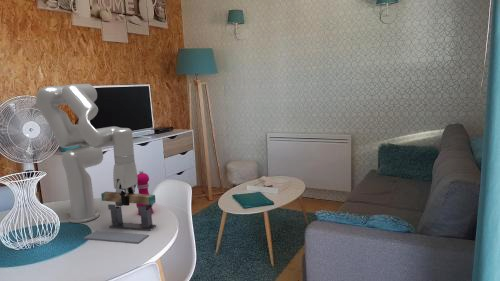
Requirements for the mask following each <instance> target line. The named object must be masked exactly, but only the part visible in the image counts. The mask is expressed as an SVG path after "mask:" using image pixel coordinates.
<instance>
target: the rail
mask: <svg viewBox="0 0 500 281" xmlns="http://www.w3.org/2000/svg"><path fill="white" fill-rule="evenodd" d="M100 196H101V201H103V202H113V203H115V202H122V200H121V196H120V194H119V193H116V191H104V192H102V193H101V194H100ZM127 196H129V204H148V205H152V204H153V205H155V203H156V195H155V194H149V195H147V194H139V193H134V194H133V193H128V195H127ZM153 205H152V206H153Z"/></svg>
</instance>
